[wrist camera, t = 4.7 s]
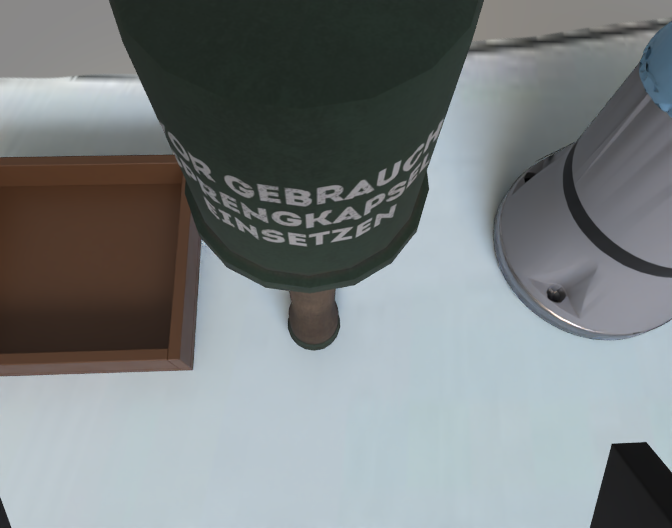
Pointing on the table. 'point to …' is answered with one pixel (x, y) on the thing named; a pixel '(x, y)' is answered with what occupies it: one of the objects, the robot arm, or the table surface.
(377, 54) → the potato masher grenade
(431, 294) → the table surface
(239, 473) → the table surface
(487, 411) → the table surface
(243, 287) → the table surface
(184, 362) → the holder
